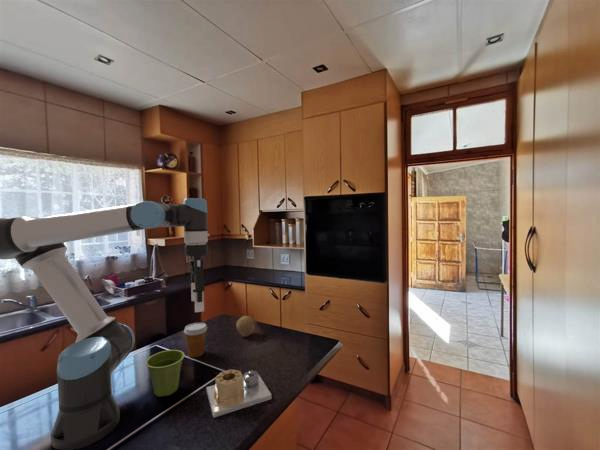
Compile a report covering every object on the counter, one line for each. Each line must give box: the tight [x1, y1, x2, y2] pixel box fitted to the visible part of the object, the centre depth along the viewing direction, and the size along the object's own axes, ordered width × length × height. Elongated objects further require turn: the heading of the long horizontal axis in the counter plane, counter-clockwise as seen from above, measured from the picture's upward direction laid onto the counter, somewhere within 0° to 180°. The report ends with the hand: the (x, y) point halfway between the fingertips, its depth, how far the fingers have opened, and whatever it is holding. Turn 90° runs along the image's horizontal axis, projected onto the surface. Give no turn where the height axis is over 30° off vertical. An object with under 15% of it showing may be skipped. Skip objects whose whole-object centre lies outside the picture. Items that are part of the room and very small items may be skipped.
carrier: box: [205, 369, 272, 418], centre depth 91 cm, size 18×14×6 cm
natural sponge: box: [236, 315, 256, 338], centre depth 138 cm, size 9×9×10 cm
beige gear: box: [214, 369, 244, 405], centre depth 89 cm, size 9×9×6 cm
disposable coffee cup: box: [183, 322, 208, 358], centre depth 120 cm, size 10×10×12 cm
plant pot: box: [145, 349, 186, 398], centre depth 94 cm, size 12×12×11 cm
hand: (197, 305), depth 95 cm, fingers open, 13 cm apart
